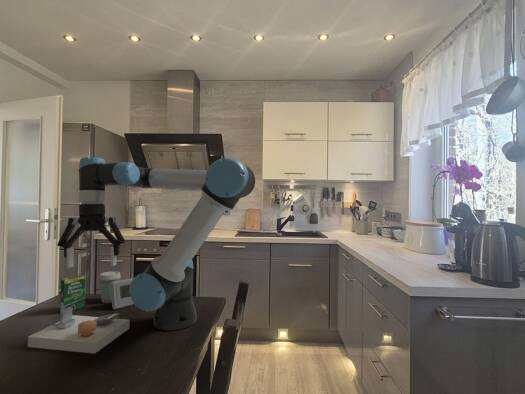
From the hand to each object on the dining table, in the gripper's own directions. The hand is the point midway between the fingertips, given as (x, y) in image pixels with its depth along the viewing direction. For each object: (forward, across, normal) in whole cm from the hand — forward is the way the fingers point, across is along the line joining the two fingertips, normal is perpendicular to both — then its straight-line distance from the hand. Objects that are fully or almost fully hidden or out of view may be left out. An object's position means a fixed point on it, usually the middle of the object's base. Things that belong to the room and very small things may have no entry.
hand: (92, 266), depth 91 cm
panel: (+22, +1, +3) cm, 22 cm away
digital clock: (+22, -5, -25) cm, 34 cm away
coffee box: (+21, +16, -21) cm, 34 cm away
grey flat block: (+17, -5, +1) cm, 18 cm away
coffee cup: (+21, +6, -30) cm, 38 cm away
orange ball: (+21, -2, +9) cm, 22 cm away
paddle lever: (+18, +7, +2) cm, 20 cm away
